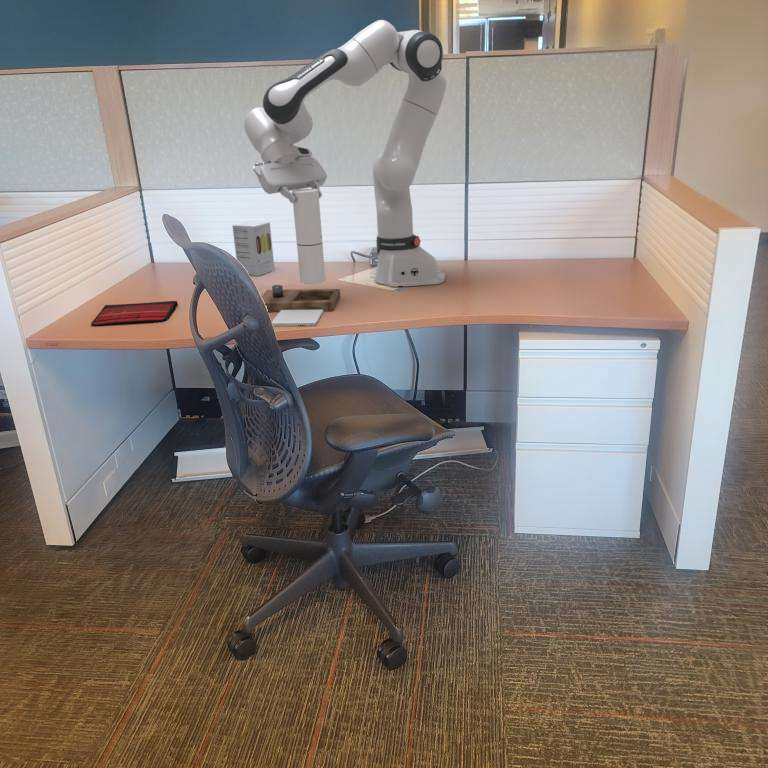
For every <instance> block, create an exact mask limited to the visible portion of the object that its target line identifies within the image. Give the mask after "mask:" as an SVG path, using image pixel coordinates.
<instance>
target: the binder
mask: <svg viewBox="0 0 768 768" xmlns="http://www.w3.org/2000/svg"><path fill="white" fill-rule="evenodd" d="M178 306H179V303H178V301H177V300H169V301H151V302H140V303H124V304H123V303H121V304H119V303H118V304H105V305H104V307H102V309H101V310H100V311H99V312H98V314H97V315H96V316H95V317H94V319H93V320H92V321H91V323H90V325H91V327H104V326H117V325H118V326H119V325H130V324H131V325H132V324H145V323H147V324H148V323H151V324H157V323H159V322H160V323H164V322H167V321H168V320H169V319H170V317H171V316H172V315H173V314H174V313H175V311H176V309H175V307H178ZM173 309H175V310H173ZM160 323H159V324H160Z"/></svg>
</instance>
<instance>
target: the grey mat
mask: <svg viewBox="0 0 768 768" xmlns="http://www.w3.org/2000/svg"><path fill="white" fill-rule="evenodd" d="M324 312H325V311H323V309H320V310H281V311H280V312H278V313H277V314H276V316H275V317H274V318H273V320H272V321H271V322H272V323H273V325H274V326H273V327H301V326H300V325H306V326H305V327H316V326H317V324H318V323H317V322H320V319H321V318H322V316H323V314H324ZM321 315H322V316H321ZM320 317H321V318H320ZM298 325H299V326H298ZM311 325H312V326H311ZM315 325H316V326H315Z"/></svg>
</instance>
